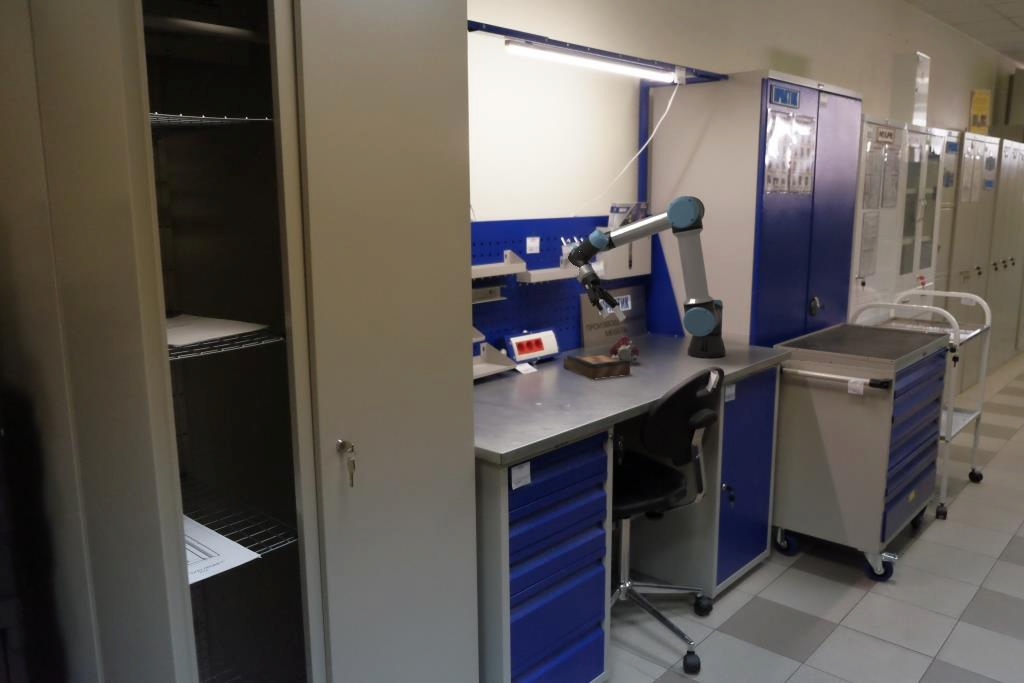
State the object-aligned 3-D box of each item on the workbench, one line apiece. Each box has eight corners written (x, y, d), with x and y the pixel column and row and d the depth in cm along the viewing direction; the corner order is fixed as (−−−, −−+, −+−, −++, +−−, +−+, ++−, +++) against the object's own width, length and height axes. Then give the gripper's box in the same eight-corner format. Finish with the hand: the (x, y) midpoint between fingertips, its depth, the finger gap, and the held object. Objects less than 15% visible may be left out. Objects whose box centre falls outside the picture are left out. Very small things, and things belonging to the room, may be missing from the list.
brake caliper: (638, 353, 300) (639, 333, 291) (638, 375, 293) (640, 355, 284) (609, 353, 301) (609, 333, 292) (609, 374, 294) (609, 354, 285)
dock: (599, 363, 294) (599, 349, 293) (629, 374, 275) (630, 360, 274) (563, 367, 288) (563, 353, 287) (591, 379, 268) (591, 364, 267)
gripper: (596, 287, 317) (623, 326, 309) (565, 280, 297) (592, 321, 289) (609, 276, 314) (636, 315, 306) (578, 267, 294) (606, 309, 285)
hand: (615, 318), depth 297 cm, fingers open, 13 cm apart
